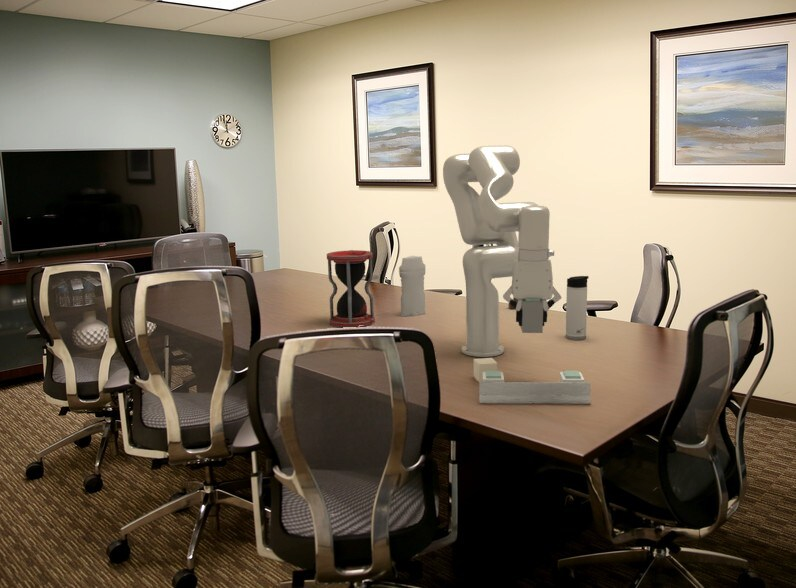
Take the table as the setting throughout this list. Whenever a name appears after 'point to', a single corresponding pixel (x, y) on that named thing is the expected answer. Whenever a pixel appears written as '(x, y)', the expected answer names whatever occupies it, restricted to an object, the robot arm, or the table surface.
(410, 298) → the tall pale column
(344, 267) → the hourglass
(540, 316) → the block
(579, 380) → the mounted modules
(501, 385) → the rail
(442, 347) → the table surface
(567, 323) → the travel mug
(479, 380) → the cream cube
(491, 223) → the robot arm
